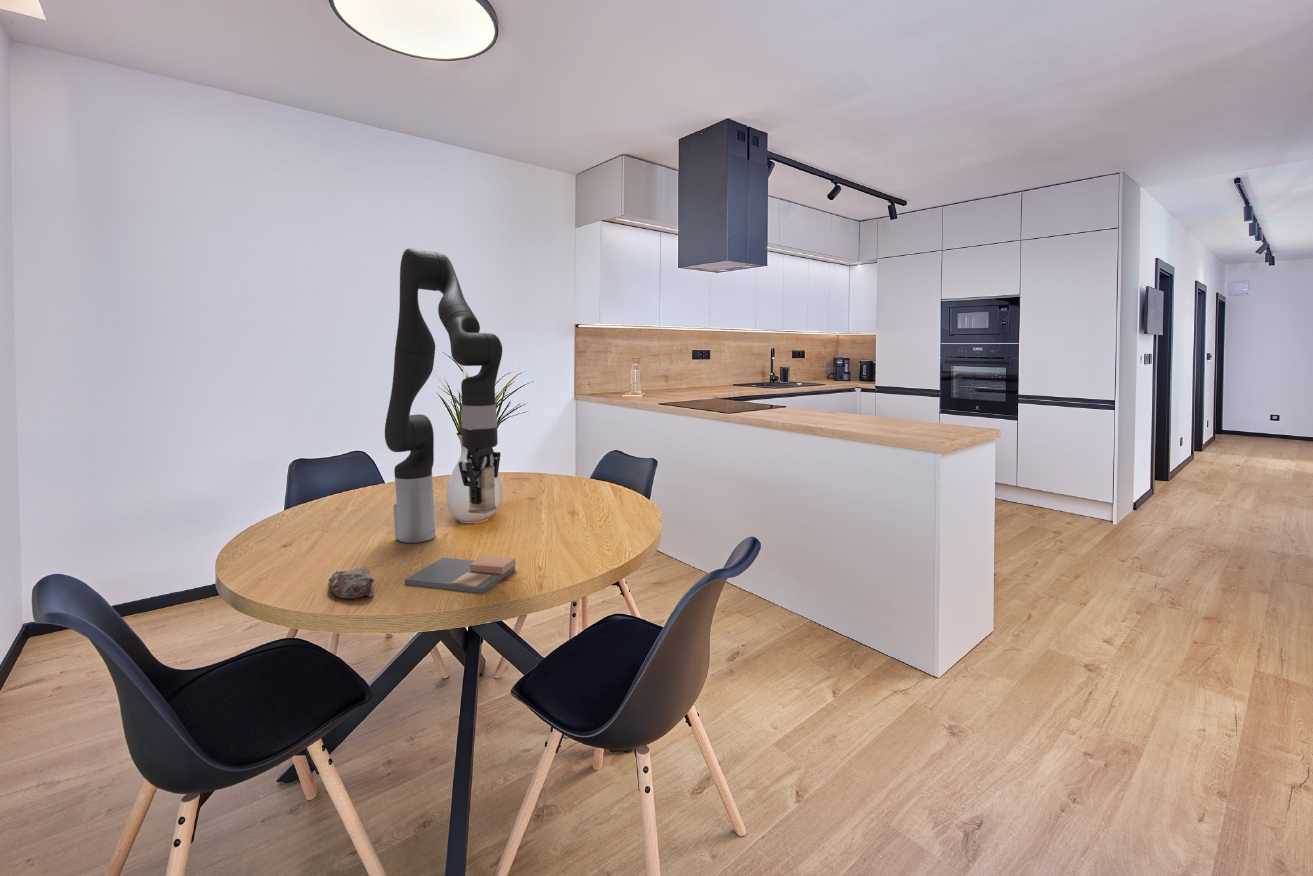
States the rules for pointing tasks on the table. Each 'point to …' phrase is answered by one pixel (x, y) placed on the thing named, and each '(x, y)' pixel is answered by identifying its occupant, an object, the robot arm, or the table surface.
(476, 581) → the cork pad
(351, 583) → the mineral rock
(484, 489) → the block
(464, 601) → the table surface
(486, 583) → the slate board
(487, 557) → the tile
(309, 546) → the table surface
